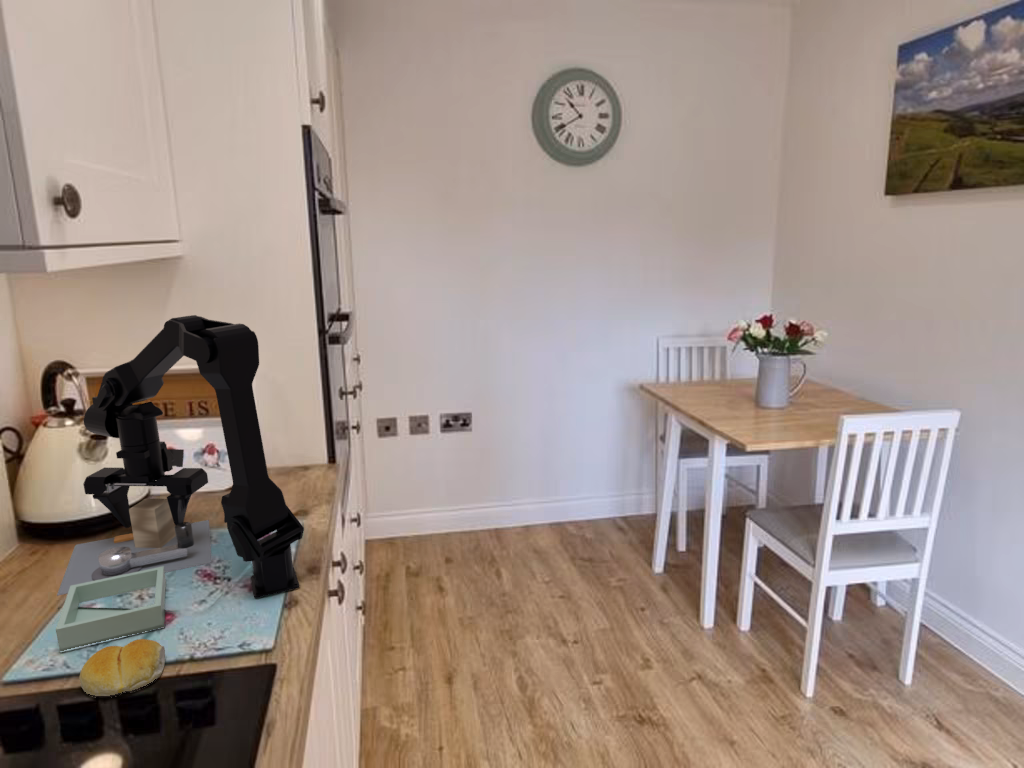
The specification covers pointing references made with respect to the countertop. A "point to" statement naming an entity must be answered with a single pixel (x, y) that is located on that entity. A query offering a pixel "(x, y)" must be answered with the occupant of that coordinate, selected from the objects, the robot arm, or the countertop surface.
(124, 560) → the crank
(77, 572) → the crank base
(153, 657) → the bread roll
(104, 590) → the tray
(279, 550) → the robot arm
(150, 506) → the block
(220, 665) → the countertop surface
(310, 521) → the countertop surface
